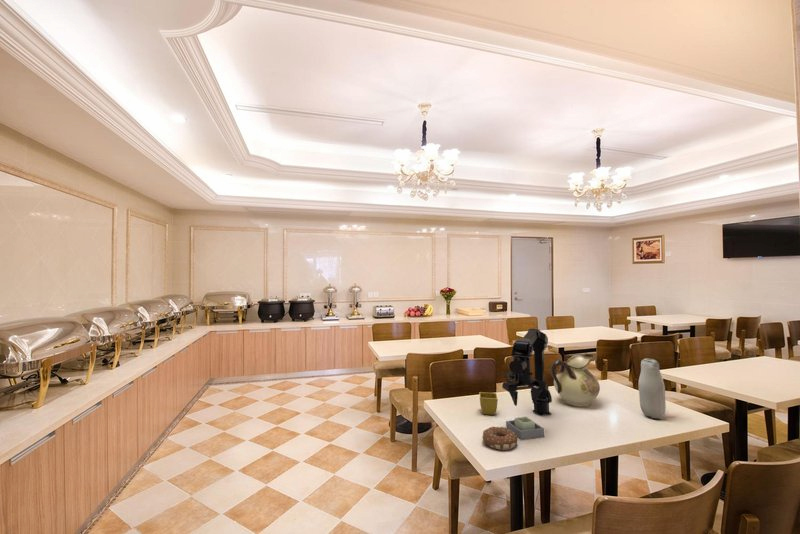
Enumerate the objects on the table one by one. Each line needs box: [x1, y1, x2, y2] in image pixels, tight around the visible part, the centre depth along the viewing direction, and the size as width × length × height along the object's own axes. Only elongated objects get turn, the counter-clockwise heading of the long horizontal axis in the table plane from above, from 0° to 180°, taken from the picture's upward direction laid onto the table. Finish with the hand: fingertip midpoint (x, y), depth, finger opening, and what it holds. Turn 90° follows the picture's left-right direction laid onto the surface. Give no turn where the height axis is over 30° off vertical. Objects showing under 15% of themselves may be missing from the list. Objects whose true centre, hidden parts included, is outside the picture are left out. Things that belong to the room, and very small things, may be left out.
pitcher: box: [550, 353, 601, 408], centre depth 186 cm, size 22×24×25 cm
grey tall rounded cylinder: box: [637, 357, 667, 419], centre depth 166 cm, size 10×10×28 cm
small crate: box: [514, 416, 536, 431], centre depth 150 cm, size 6×6×5 cm
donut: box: [482, 425, 519, 451], centre depth 140 cm, size 14×14×5 cm
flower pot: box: [478, 391, 499, 416], centre depth 173 cm, size 9×9×9 cm
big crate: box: [505, 419, 545, 441], centre depth 150 cm, size 11×11×4 cm
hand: (524, 404), depth 152 cm, fingers open, 9 cm apart
